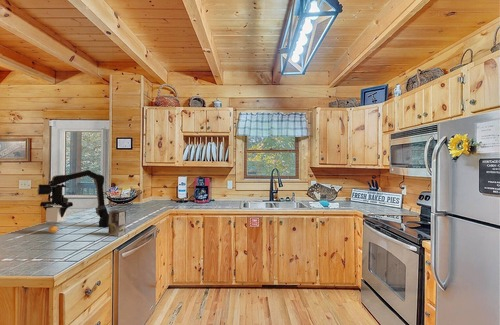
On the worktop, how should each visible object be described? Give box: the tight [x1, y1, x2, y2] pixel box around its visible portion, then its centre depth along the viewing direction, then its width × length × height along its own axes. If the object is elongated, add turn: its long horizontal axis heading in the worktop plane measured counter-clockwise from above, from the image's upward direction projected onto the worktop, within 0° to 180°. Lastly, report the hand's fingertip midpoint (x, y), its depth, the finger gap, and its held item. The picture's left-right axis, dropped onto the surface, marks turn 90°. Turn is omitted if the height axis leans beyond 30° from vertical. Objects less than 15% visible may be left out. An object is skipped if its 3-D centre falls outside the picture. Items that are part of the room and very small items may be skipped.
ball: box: [48, 225, 59, 234], centre depth 178 cm, size 5×5×5 cm
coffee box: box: [107, 209, 127, 237], centre depth 180 cm, size 9×6×16 cm
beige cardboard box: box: [45, 205, 67, 223], centre depth 178 cm, size 8×8×9 cm
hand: (56, 216), depth 179 cm, fingers closed on beige cardboard box, 8 cm apart
